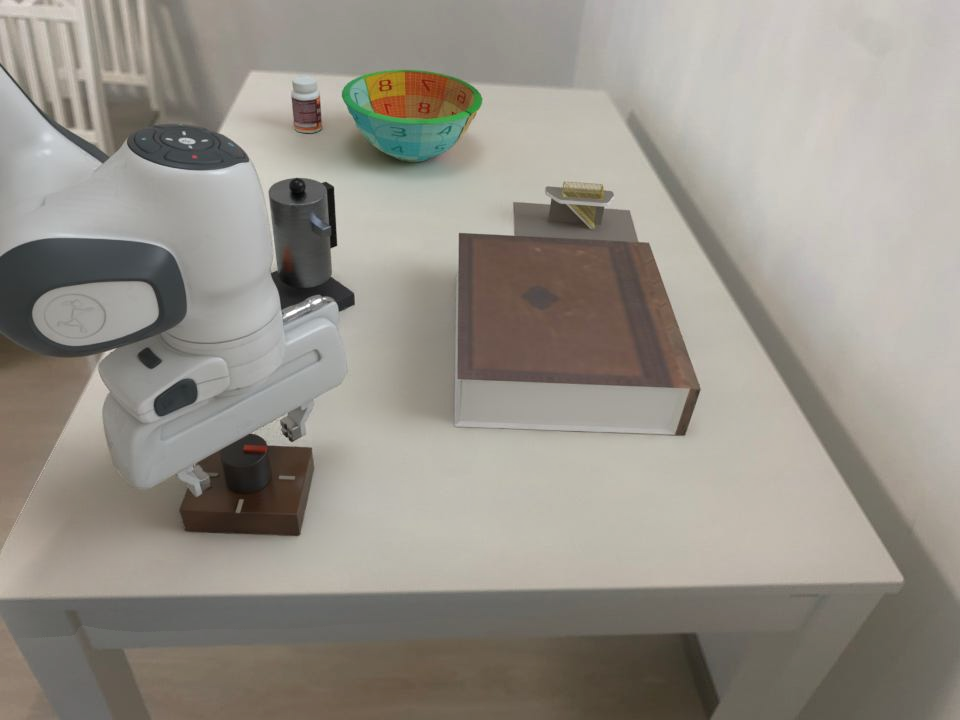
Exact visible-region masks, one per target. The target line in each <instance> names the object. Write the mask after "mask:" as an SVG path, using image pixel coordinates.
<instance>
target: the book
mask: <svg viewBox="0 0 960 720" xmlns="http://www.w3.org/2000/svg"><path fill="white" fill-rule="evenodd" d="M457 267H458V270H457V271H458V272H457V273H458V274H457V275H456V276H455V336H454V337H455V338H454V340H455V341H454V343H455V344H454V354H455V355H454V417H453V418H454V419H453V420H454V421H453V422H454V425H453V426H454V427H459V428H483V429H484V428H485V429H510V430H511V429H513V430H537V431H538V430H539V431H566V432H567V431H568V432H588V433H589V432H592V433H617V434H618V433H619V434H620V433H621V434H646V435H648V434H649V435H668V436H669V435H670V436H671V435H673V436H674V435H675V436H686V434H687V431H688V428H689V425H690V422H691V419H692V416H693V414H694V410H695V408H696V404H697V403H698V402H697V401H698V400H699V396H700V393H701V391H702V388H701V386H700V382H699V380H698V377H697V374H696V371H695V368H694V365H693V363H692V361H691V357H690V354H689V352H688V349H687V346H686V343H685V340H684V337H683V335H682V331H681V329H680V326H679V324H678V323H679V322H678V320H677V318H676V314H675V311H674V309H673V307H672V304H671V301H670V298H669V295H668V292H667V289H666V287H665V285H664V281H663V278H662V275H661V272H660V269H659V267H658V264H657V261H656V259H655V255H654V253H653V249H652V246H651V243H650V242H646V241H645V242H643V241H638V242H627V241H608V240H588V239H569V238H550V237H530V236H515V235H510V234H509V235H507V234H492V233H491V234H489V233H472V232H471V233H470V232H458V266H457Z"/></svg>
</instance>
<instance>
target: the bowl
mask: <svg viewBox="0 0 960 720" xmlns="http://www.w3.org/2000/svg"><path fill="white" fill-rule="evenodd" d="M341 98H342V101H343V103H344V104H345V105H346V107H347V110H348V113H349V114H350V115H351V117H352V119H353V121H354V123H355V125H356V128H357V129H358V130H359V132H360V133H361V135H362V136H363V137H364V138H365V139H366V140H367V141H368V142H369V143H370V144H371V146H373V147H374V148H376V149H377V150H379V152H382V153H384V154H386V155H388V156H390V157H393V158H394V159H396V160H399V161H402V162H408V163H420V162H421V163H422V162H426V161H428V160H430V159H431V158H435V157H437V156H440V155H442V154H444V153H445V152H447V151H449V150H450V149H452V148H453V147H454V146H455V145H457V143H458V142H459V141H460V140H461V139H462V138H463V137H464V135H465V134H466V133H467V132H468V129H469V128H470V125H471V124H472V121H474V119H475V117H476V116H477V113H478V111H479V110H480V109H481V107H482V105H483V97H482V94H481V92H480V91H479V90H478V89H477V88H476V87H474V85H471V84H470V83H468V82H466V81H464V80H463V79H460V78H457V77H454V76H451V75H449V74H444V73H439V72H435V71H429V70H428V71H427V70H419V69H391V70H381V71H376V72H371V73H365V74H363V75H361V76H358V77H356V78H354V79H351V80H350V81H349V82H347V83H346V84H345V85H344V87H343V88H342V90H341Z"/></svg>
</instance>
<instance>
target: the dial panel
mask: <svg viewBox="0 0 960 720" xmlns="http://www.w3.org/2000/svg"><path fill="white" fill-rule="evenodd" d="M267 447H268V453H269V460H270V466H271V472H272V474H271V479H270V481H269V482H268V484H267V485H266V486H265V487H263V488H262V489H260V490H258V491H256V492H253V493H237V492H235V491H233V490H231V489H230V488H229V487H228V486H227V484H226V482H225V477H224V472H223V468H222V463H221V458H220V450H219V451H217V452H216V453H214V454H212V455H210V456H208V457H206V458H205V459H203V460H201V461H199V462H197V463H195V466H197V465H200V466H201V467H202V468H203V471H204V472H206V473H207V474H208V475H209V476H210V479H211V482H210V483H211V485H212V488H211V489H210V490H208V491H206V492H204V493H203V494H201V495H200V496H198V497H195V496H194V495H193V493H192V492H191V491H190V490H189V489H188V487H187V488H186V491H185V493H184V496H183V499H182V501H181V504H180V507H179V510H178V511H179V514H180V519H181V522H182V525H183V529H184V531H185V532H187V533H188V532H189V533H190V532H191V533H216V534H217V533H218V534H240V535H268V536H269V535H270V536H290V537H291V536H294V537H300V535H301V531H302V527H303V523H304V518H305V513H306V509H307V504H308V500H309V494H310V491H311V486H312V480H313V476H314V471H315V464H314V454H313V447H311V446H291V445H289V446H288V445H271V444H270V445H268V444H267Z"/></svg>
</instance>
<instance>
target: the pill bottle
mask: <svg viewBox="0 0 960 720" xmlns="http://www.w3.org/2000/svg"><path fill="white" fill-rule="evenodd" d="M291 82H292V91H291V92H290V98H291V107H292V108H291V109H292V118H293V119H292V120H293V128H294V130H295V131H296V132H299V133H302V134H312V133H317V132H319V131H321V130H322V128H323V119H322V107H321V106H322V105H321V93H320V91H319V90H318V80H317V78H316V77H313V76H308V75H300V76H295V77H293V78H292V80H291Z"/></svg>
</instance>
